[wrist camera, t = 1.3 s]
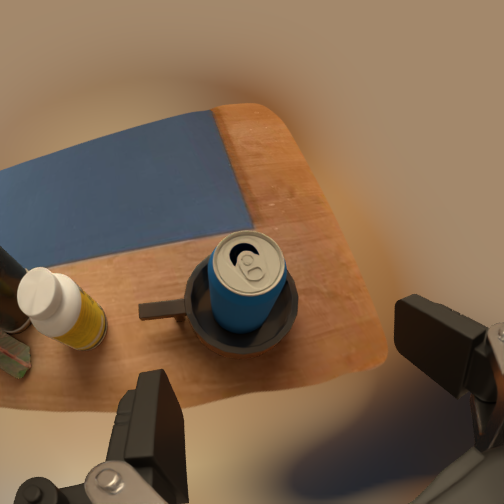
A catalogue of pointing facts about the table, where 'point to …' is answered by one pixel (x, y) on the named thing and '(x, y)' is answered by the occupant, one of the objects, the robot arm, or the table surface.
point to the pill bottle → (61, 309)
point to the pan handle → (163, 310)
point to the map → (14, 356)
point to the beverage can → (245, 280)
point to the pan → (233, 342)
